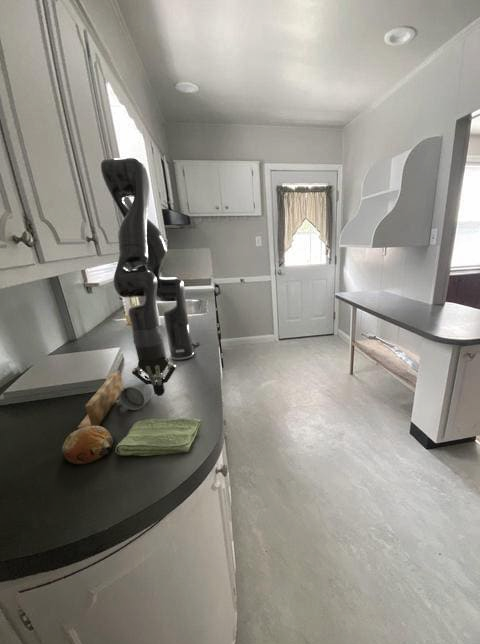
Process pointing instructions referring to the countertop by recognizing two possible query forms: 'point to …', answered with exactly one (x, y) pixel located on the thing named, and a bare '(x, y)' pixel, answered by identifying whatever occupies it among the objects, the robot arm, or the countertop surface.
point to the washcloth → (159, 437)
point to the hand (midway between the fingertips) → (160, 394)
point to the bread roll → (87, 444)
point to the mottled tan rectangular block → (102, 401)
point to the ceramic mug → (135, 395)
